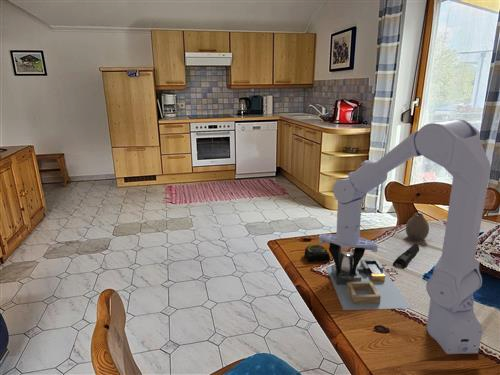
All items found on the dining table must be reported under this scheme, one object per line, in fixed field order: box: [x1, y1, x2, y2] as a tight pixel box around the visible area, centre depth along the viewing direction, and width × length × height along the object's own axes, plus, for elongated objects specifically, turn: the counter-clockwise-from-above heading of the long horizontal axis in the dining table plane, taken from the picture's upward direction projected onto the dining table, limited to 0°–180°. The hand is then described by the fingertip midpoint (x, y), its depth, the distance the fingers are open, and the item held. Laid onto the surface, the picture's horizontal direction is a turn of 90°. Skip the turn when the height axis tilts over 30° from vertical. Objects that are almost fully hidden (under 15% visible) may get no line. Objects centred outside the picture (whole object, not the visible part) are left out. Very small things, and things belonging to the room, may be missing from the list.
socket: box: [331, 258, 384, 285], centre depth 89 cm, size 9×13×2 cm
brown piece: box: [347, 281, 381, 304], centre depth 80 cm, size 6×6×2 cm
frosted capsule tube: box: [340, 251, 353, 276], centre depth 87 cm, size 3×3×7 cm
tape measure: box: [304, 244, 331, 264], centre depth 99 cm, size 7×7×4 cm
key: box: [367, 264, 385, 282], centre depth 88 cm, size 6×3×2 cm, turn 179°
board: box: [325, 265, 412, 311], centre depth 85 cm, size 19×16×1 cm
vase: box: [405, 212, 430, 242], centre depth 109 cm, size 7×7×9 cm
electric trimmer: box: [392, 242, 420, 270], centre depth 97 cm, size 4×15×3 cm, turn 136°
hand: (346, 270), depth 87 cm, fingers open, 3 cm apart
